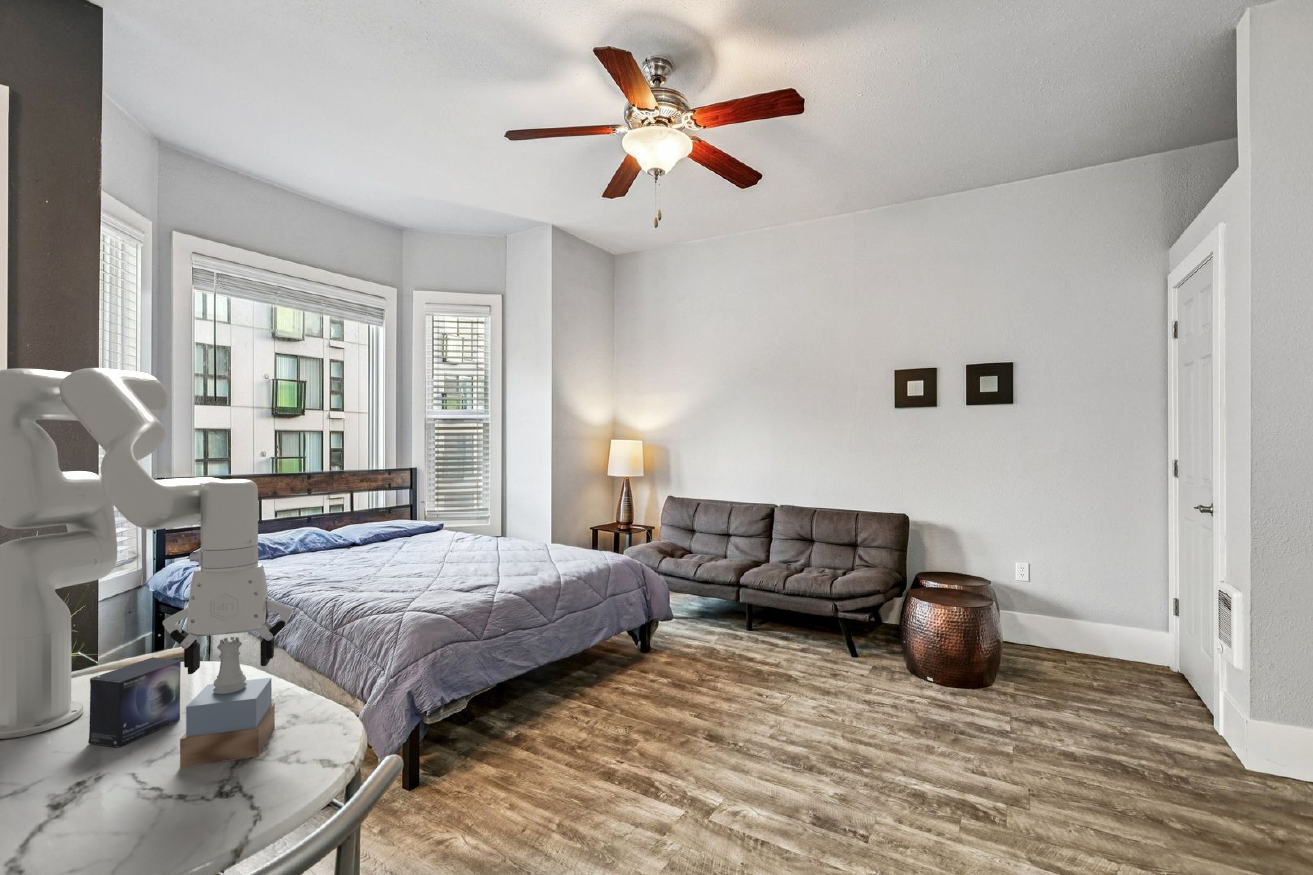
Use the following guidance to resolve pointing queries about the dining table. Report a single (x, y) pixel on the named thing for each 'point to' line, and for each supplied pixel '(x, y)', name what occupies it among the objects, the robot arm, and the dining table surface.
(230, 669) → the rook chess piece
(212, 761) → the walnut block
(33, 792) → the dining table surface
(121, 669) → the small box
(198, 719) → the slate-blue block
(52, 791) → the dining table surface
